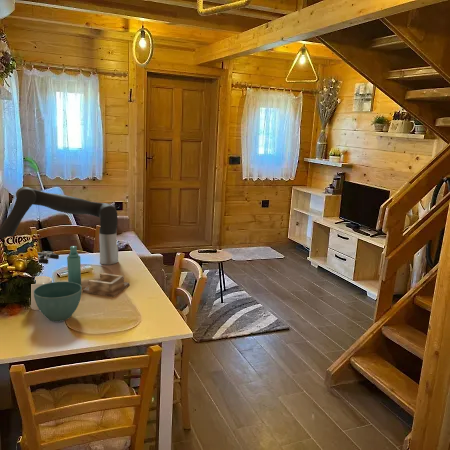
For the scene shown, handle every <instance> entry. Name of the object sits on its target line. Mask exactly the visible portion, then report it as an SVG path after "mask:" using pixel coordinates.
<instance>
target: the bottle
mask: <svg viewBox="0 0 450 450" xmlns="http://www.w3.org/2000/svg"><path fill="white" fill-rule="evenodd" d="M77 248H78V247H77V245H71V246H70V247H69V249H70V250H69V253H68V256H66V257H67V258H66V260H67V262H66V263H67V282H73V283H77V284H79V285H81V286H82V271H81V270H82V269H81V267H82V266H81V265H82V264H81V256H80V255H79V252H78V249H77Z"/></svg>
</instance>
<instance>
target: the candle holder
mask: <svg viewBox="0 0 450 450" xmlns="http://www.w3.org/2000/svg"><path fill="white" fill-rule="evenodd" d="M34 277H35V280H36V284H31V305H30V304H29V305H30V306H29V307H30V309H32V310H33V311H40V310H39V308H38V306H37V304H36V301H35V298H34V290H35V289H36V288H37V287H39V286H41V285H44V284H48V283H53V278H52V277H51V276H46V275H45V276H43V275H42V276H34Z"/></svg>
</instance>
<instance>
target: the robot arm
mask: <svg viewBox="0 0 450 450" xmlns="http://www.w3.org/2000/svg"><path fill="white" fill-rule="evenodd" d="M15 198H16V199H15V201H14V205H13V207H12V210H11V211H10V213H9V214H8V216H7V217H6V218H5V220H4V221H3V223H2V225H1V226H0V238H4V237H7V236H13V237H14V236H15V233H16V232H17V230H18V228H19V226H20V223H21V222H22V220H23V219H24V216H25V215H26V213H27V212H28V211H29V210H30V209H31V207H32V206H33V205H35V206H41V207H44V208H45V207H46V208H48V209H51V210H54V211H57V212H61V213H63V214H64V213H65V214H69V215H89V216H93V217H97V218H99V221H100V225H99V226H100V227H99V231H98V232H99V264H101V265H104V266H105V265H106V266H107V265H115V264H116V263H118V262H119V245H117V237H118V236H117V230H118V211H117V209H116V208H115V206H113V205H112V204H110V203H105V202H95V201H89V200H87V199H83V198H79V197H76V196H72V195H66V194H59V193H50V192H45V191H41V190H37V189H36V188H31V187H28V186H22V187H20V188H18V189H17V190H16V193H15ZM37 253H38V259H39V263H40V264H45V265H48V264H49V259H51V260H52V259H53V260H59V259H60V255H59V254H56V253H54V251H49V250H47V251H45V250H42V252H40V251H39V252H37Z"/></svg>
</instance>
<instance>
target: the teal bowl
mask: <svg viewBox="0 0 450 450" xmlns="http://www.w3.org/2000/svg"><path fill="white" fill-rule="evenodd" d="M82 293H83V289H82V284H81V285H79V284H77V283H73V282H68V281H56V282H55V281H54V282H53V281H52V283H48V284H44V285H41V286H39V287H37V288H36V289H35V290H34V298H35V301H36V304H37V306H38V308H39V310H38V311H40V313H41V314H42V315H43V316H44V317H45V318H46V319H47V320H48V321H50V322H55V323H56V322H64V321H67V320H68V318H69V319H70V318H71V317H72V316H73V315H74V313H75V311H76V310H77V308H78V306H79V304H80V301H81V297H82ZM66 319H67V320H66Z"/></svg>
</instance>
